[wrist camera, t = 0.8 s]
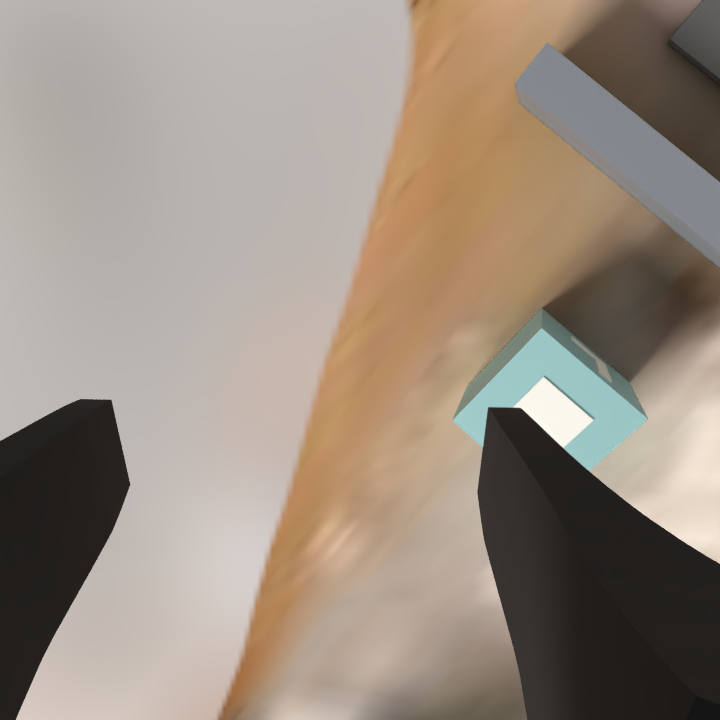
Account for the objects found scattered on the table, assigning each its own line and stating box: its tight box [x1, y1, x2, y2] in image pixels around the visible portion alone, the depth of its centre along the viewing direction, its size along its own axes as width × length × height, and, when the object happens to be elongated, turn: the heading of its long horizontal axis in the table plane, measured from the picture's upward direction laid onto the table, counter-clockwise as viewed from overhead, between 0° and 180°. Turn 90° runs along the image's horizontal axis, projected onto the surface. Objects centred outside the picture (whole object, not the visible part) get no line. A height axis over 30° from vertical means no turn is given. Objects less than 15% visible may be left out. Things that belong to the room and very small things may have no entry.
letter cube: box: [452, 308, 648, 471], centre depth 25 cm, size 5×5×5 cm
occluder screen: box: [515, 43, 720, 268], centre depth 22 cm, size 18×2×4 cm, turn 51°
